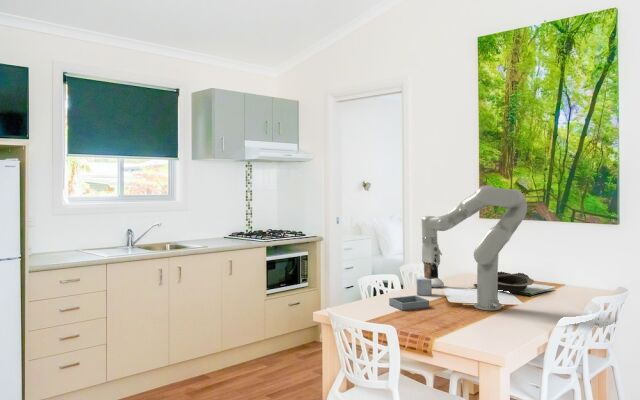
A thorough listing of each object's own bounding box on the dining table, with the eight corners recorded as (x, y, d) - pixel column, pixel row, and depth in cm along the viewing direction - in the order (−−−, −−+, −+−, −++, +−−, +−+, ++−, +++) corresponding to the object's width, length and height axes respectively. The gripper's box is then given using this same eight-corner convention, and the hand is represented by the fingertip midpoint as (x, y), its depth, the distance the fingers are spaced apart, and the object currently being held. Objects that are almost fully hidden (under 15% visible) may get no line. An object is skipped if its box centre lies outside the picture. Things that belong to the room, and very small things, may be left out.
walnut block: (438, 278, 269) (437, 264, 268) (429, 279, 267) (429, 265, 267) (432, 276, 273) (432, 263, 273) (424, 277, 272) (423, 264, 271)
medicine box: (430, 293, 291) (430, 278, 291) (431, 295, 287) (431, 279, 286) (416, 293, 292) (416, 278, 292) (417, 295, 287) (416, 279, 287)
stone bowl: (499, 284, 313) (501, 268, 312) (541, 293, 295) (542, 277, 294) (477, 290, 296) (478, 273, 295) (520, 300, 278) (521, 283, 277)
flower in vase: (439, 289, 302) (439, 245, 301) (420, 287, 308) (420, 244, 307) (447, 285, 313) (447, 243, 312) (429, 283, 319) (429, 242, 318)
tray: (429, 307, 260) (429, 300, 260) (402, 310, 254) (402, 303, 254) (415, 302, 272) (415, 295, 272) (389, 305, 267) (389, 298, 266)
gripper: (445, 241, 263) (447, 277, 263) (427, 238, 279) (428, 273, 279) (432, 242, 260) (434, 279, 261) (414, 239, 276) (416, 274, 277)
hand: (431, 275), depth 270 cm, fingers closed on walnut block, 5 cm apart
